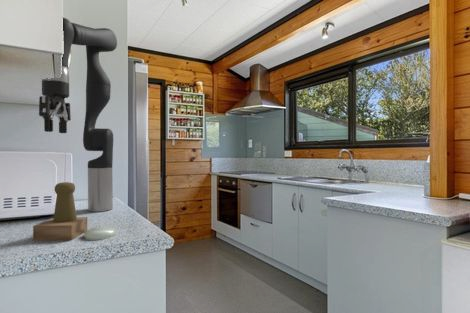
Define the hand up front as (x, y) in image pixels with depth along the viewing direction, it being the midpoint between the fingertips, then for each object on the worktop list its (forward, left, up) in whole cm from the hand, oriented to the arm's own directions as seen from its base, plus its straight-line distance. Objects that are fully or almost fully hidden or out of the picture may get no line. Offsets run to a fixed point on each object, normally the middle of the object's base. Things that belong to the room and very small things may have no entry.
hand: (56, 132), depth 96 cm
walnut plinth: (+11, +7, -30) cm, 33 cm away
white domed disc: (+12, +18, -30) cm, 37 cm away
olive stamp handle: (+9, +7, -26) cm, 29 cm away
